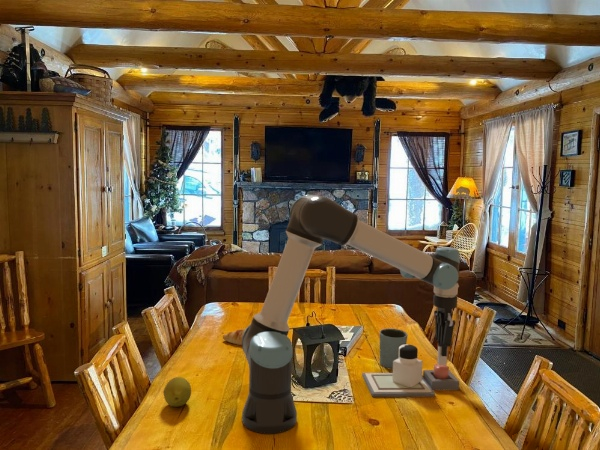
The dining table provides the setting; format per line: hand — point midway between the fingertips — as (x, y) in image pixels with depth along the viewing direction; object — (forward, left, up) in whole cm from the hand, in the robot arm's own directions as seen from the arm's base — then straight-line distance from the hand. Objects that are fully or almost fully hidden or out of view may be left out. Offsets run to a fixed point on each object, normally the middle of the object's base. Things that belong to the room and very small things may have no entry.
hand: (441, 364), depth 161 cm
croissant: (+41, +66, -7) cm, 78 cm away
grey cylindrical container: (+17, +12, -7) cm, 22 cm away
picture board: (-1, +15, -7) cm, 17 cm away
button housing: (0, 0, -7) cm, 7 cm away
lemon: (-14, +84, -7) cm, 86 cm away
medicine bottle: (-1, +12, -6) cm, 13 cm away
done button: (0, 0, -5) cm, 5 cm away
